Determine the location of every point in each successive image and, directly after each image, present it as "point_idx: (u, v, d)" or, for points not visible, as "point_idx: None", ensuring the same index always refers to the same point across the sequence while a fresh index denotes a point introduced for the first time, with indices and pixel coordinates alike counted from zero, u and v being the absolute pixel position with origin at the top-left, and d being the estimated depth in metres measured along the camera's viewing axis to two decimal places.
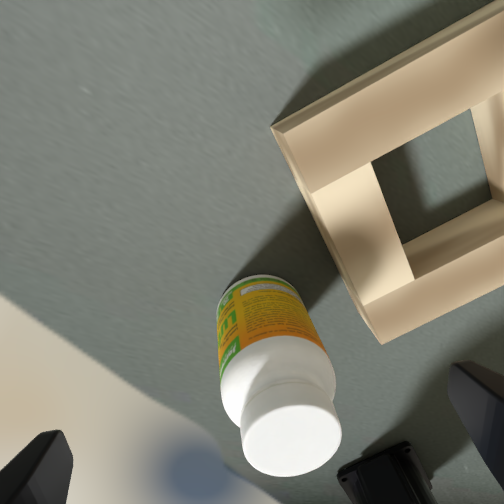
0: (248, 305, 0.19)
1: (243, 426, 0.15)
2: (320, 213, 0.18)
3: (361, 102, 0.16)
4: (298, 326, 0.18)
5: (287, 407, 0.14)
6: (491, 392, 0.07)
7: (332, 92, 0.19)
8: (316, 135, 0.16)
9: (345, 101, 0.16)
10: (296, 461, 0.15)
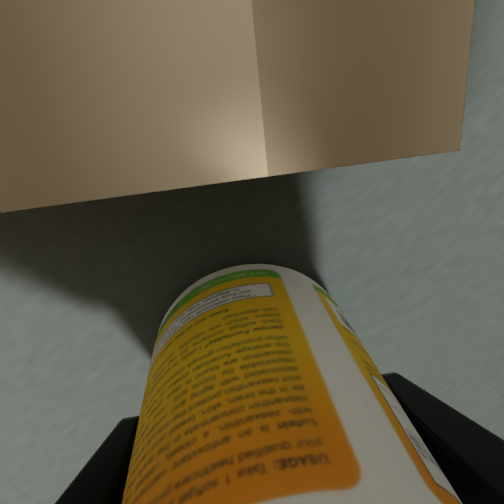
0: None
1: None
2: None
3: None
4: (153, 482, 0.05)
5: None
6: (407, 407, 0.07)
7: None
8: None
9: None
10: None
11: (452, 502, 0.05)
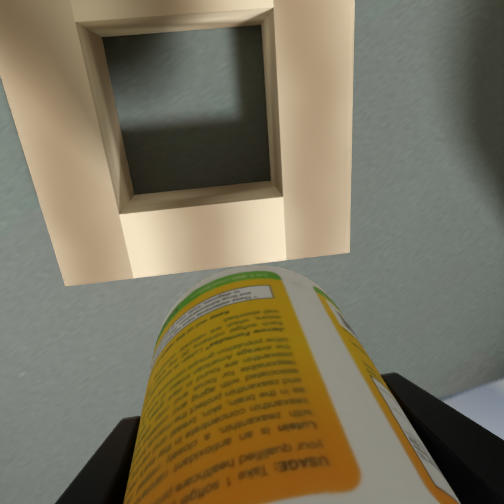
0: None
1: None
2: (158, 273, 0.17)
3: (53, 209, 0.15)
4: (154, 484, 0.05)
5: None
6: (407, 407, 0.07)
7: None
8: (75, 258, 0.16)
9: (48, 224, 0.16)
10: None
11: None
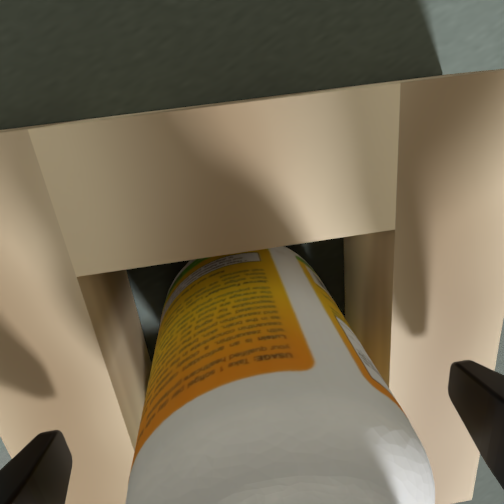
0: None
1: None
2: None
3: None
4: (168, 381, 0.07)
5: None
6: (492, 392, 0.07)
7: None
8: None
9: None
10: None
11: (382, 389, 0.06)
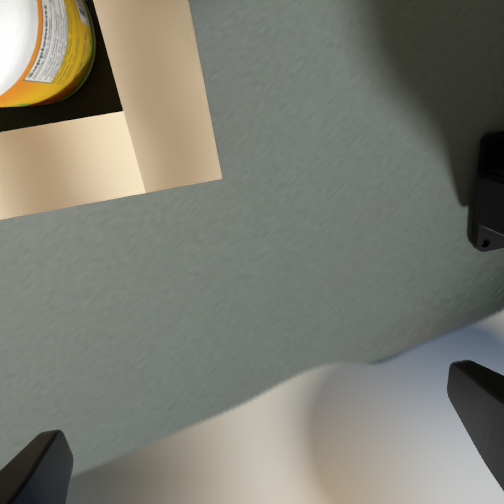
0: None
1: None
2: None
3: None
4: None
5: None
6: (491, 392, 0.07)
7: None
8: None
9: None
10: None
11: None
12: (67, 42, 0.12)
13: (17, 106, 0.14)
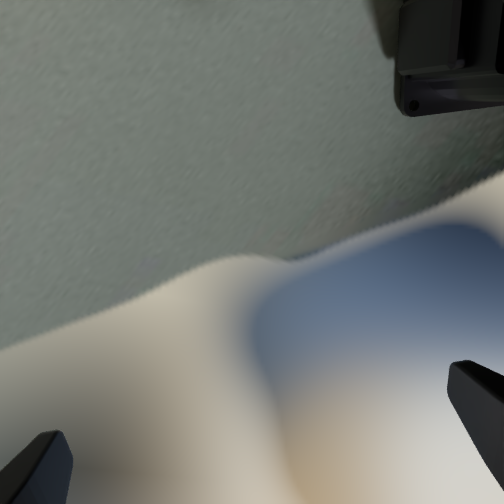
0: None
1: None
2: None
3: None
4: None
5: None
6: (491, 392, 0.07)
7: None
8: None
9: None
10: None
11: None
12: None
13: None
